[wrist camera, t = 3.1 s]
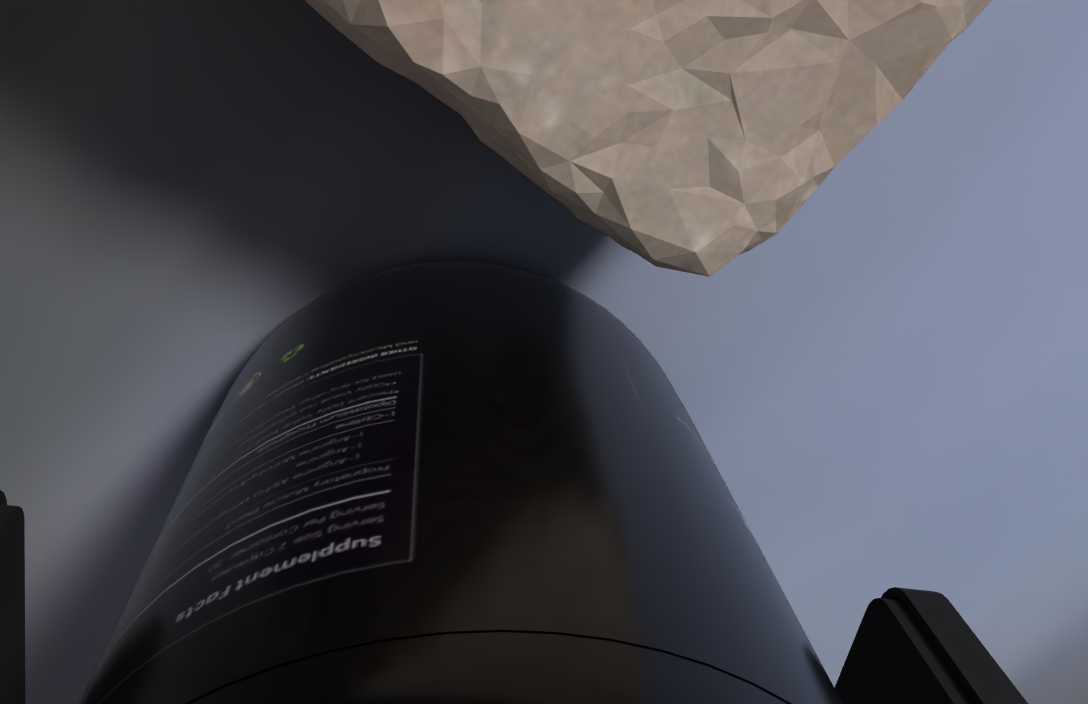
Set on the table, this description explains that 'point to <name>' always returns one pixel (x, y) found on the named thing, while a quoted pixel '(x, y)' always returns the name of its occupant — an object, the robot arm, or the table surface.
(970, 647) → the robot arm
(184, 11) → the table surface
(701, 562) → the supplement bottle
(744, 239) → the brick
